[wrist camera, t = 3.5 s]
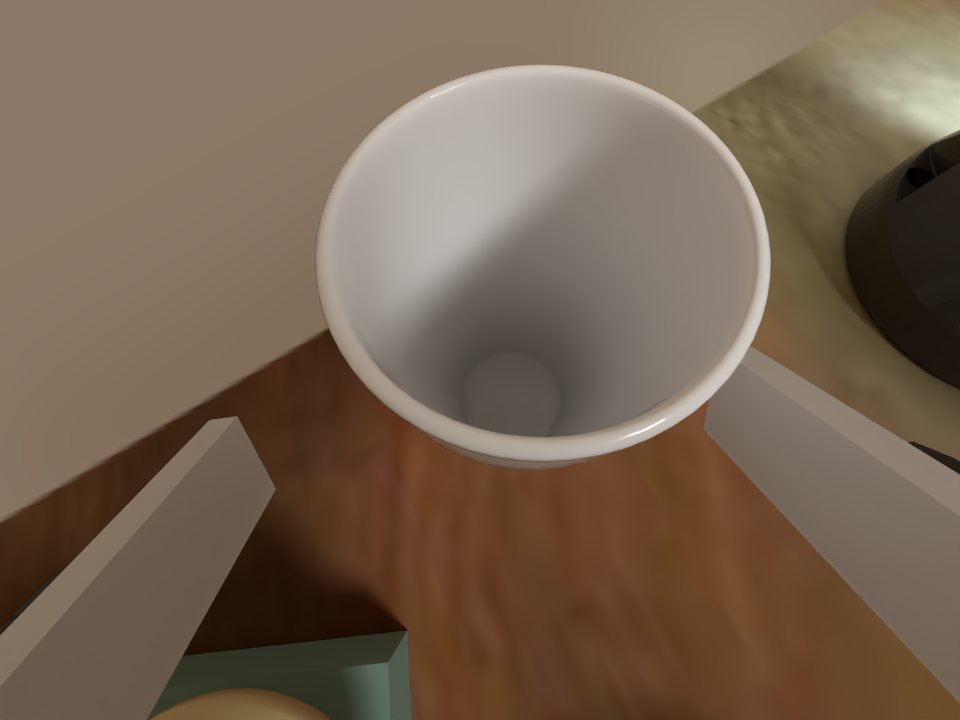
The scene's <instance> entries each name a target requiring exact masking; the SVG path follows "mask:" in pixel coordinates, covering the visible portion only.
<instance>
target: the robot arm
mask: <svg viewBox="0 0 960 720" xmlns="http://www.w3.org/2000/svg"><path fill="white" fill-rule="evenodd" d="M846 253H847V261H848V266H849V270H850V274H851V277H852V280H853V282H854V285H855V287H856V290H857V292H858V294H859V296H860V298H861V300H862V301H863V303H864V305H865V307H866V308H867V310H868V311H869V313H870V314H871V316H872V317H873V319H874V320H875V321H876V322H877V324H878V325H879V326H880V327H881V329H882V330H883V331H884V332H885V333H886V334H887V335H888V336H889V337H890V338H891V340H892V341H893V342H894V343H895V344H896V345H898V346H899V347H900V348H901V349H902V350H903V351H904V352H905V353H906V354H908V355H909V356H910V357H911V358H913V359H914V360H915V361H916V362H918V363H919V364H921V365H922V366H923V367H925V368H926V369H928V370H929V371H931V372H932V373H934V374H935V375H937V376H939V377H940V378H942V379H944V380H946V381H947V382H949V383H951V384H953V385H955V386H957V387H959V388H960V130H959V131H957V132H955V133H952V134H950V135H948V136H946V137H944V138H942V139H939V140H937V141H935V142H933V143H931V144H930V145H928V146H926V147H924V148H923V149H921V150H919V151H918V152H916V153H914V154H913V155H912V156H910V157H909V158H908V159H906V160H905V161H904V162H902V163H901V164H900V165H898V166H897V167H896V168H895V169H893V170H892V171H891V172H889V173H888V174H887V175H885V176H884V177H883V178H882V179H880V180H879V181H878V182H876V183H875V184H874V185H873V186H872V187H871V188H870V189H869V190H868V191H867V192H866V193H865V194H864V195H863V196H862V198H861V199H860V200H859V202H858V204H857V205H856V207H855V209H854V211H853V213H852V216H851V218H850V221H849V225H848V230H847V236H846ZM704 430H705V431H706V433H707V434H708V435H709V436H710V437H711V438H712V439H713V440H714V441H715V442H716V443H717V444H718V445H719V446H720V448H721V449H722V450H723V451H724V452H725V453H726V454H727V455H728V456H729V457H730V458H731V459H732V460H733V461H734V463H735V464H736V465H737V466H738V467H739V468H740V469H741V470H742V471H743V472H744V473H745V474H746V475H747V476H748V477H749V479H750V480H751V481H752V482H753V483H754V484H755V485H756V486H757V487H758V488H759V489H760V490H761V491H762V492H763V494H764V495H765V496H766V497H767V498H768V499H769V500H770V501H771V502H772V503H773V504H774V505H775V506H776V507H777V509H778V510H779V511H780V512H781V513H782V514H783V515H784V516H785V517H786V518H787V519H788V520H789V521H790V522H791V523H792V525H793V526H794V527H795V528H796V529H797V530H798V531H799V532H800V533H801V534H802V535H803V536H804V537H805V538H806V540H807V541H808V542H809V543H810V544H811V545H812V546H813V547H814V548H815V549H816V550H817V551H818V552H819V553H820V555H821V556H822V557H823V558H824V559H825V560H826V561H827V562H828V563H829V564H830V565H831V566H832V567H833V568H834V569H835V571H836V572H837V573H838V574H839V575H840V576H841V577H842V578H843V579H844V580H845V581H846V582H847V583H848V584H849V586H850V587H851V588H852V589H853V590H854V591H855V592H856V593H857V594H858V595H859V596H860V597H861V598H862V599H863V600H864V602H865V603H866V604H867V605H868V606H869V607H870V608H871V609H872V610H873V611H874V612H875V613H876V614H877V615H878V617H879V618H880V619H881V620H882V621H883V622H884V623H885V624H886V625H887V626H888V627H889V628H890V629H891V630H892V632H893V633H894V634H895V635H896V636H897V637H898V638H899V639H900V640H901V641H902V642H903V643H904V644H905V645H906V646H907V648H908V649H909V650H910V651H911V652H912V653H913V654H914V655H915V656H916V657H917V658H918V659H919V660H920V661H921V663H922V664H923V665H924V666H925V667H926V668H927V669H928V670H929V671H930V672H931V673H932V674H933V675H934V676H935V678H936V679H937V680H938V681H939V682H940V683H941V684H942V685H943V686H944V687H945V688H946V689H947V690H948V691H949V692H950V694H951V695H952V696H953V697H954V698H955V699H956V700H957V701H958V702H959V703H960V461H958V460H956V459H955V458H952V457H950V456H947V455H945V454H942V453H940V452H937V451H935V450H933V449H930V448H928V447H925V446H923V445H920V444H918V443H915V442H906V441H904V440H903V439H901V438H899V437H898V436H896V435H894V434H893V433H891V432H890V431H888V430H886V429H885V428H883V427H881V426H880V425H878V424H877V423H875V422H873V421H872V420H870V419H868V418H867V417H865V416H864V415H862V414H860V413H859V412H857V411H855V410H854V409H852V408H851V407H849V406H847V405H846V404H844V403H842V402H841V401H839V400H837V399H836V398H834V397H833V396H831V395H829V394H828V393H826V392H824V391H823V390H821V389H820V388H818V387H816V386H815V385H813V384H811V383H810V382H808V381H807V380H805V379H803V378H802V377H800V376H798V375H797V374H795V373H794V372H792V371H790V370H789V369H787V368H785V367H784V366H782V365H781V364H779V363H777V362H776V361H774V360H772V359H771V358H769V357H768V356H766V355H764V354H763V353H761V352H759V351H758V350H756V349H755V348H753V347H751V346H750V347H749V348H748V350H747V352H746V354H745V356H744V357H743V359H742V361H741V362H740V364H739V365H738V366H737V368H736V369H735V370H734V372H733V373H732V374H731V376H730V377H729V379H728V380H727V381H726V382H725V383H724V384H723V385H722V386H721V387H720V388H719V389H718V390H717V392H716V393H715V394H714V395H713V396H712V397H711V398H710V399H709V403H708V408H707V414H706V419H705V425H704ZM275 490H276V488H275V486H274V485H273V483H272V481H271V479H270V477H269V475H268V473H267V471H266V469H265V468H264V466H263V464H262V462H261V460H260V458H259V456H258V454H257V453H256V451H255V449H254V447H253V445H252V443H251V441H250V439H249V438H248V436H247V434H246V432H245V430H244V428H243V426H242V424H241V422H240V421H239V419H238V417H237V416H235V417H228V418H221V419H214V420H209V421H208V422H207V423H206V424H205V425H204V426H203V427H202V428H201V429H200V430H199V432H198V433H197V434H196V435H195V436H194V437H193V438H192V439H191V440H190V441H189V442H188V443H187V444H186V445H185V446H184V447H183V448H182V449H181V450H180V451H179V452H178V453H177V454H176V455H175V456H174V457H173V458H172V459H171V460H170V461H169V462H168V463H167V464H166V465H165V466H164V468H163V469H162V470H161V471H160V472H159V473H158V474H157V475H156V476H155V477H154V478H153V479H152V480H151V481H150V482H149V483H148V484H147V485H146V486H145V487H144V488H143V489H142V490H141V491H140V492H139V493H138V494H137V495H136V496H135V497H134V498H133V499H132V500H131V501H130V502H129V504H128V505H127V506H126V507H125V508H124V509H123V510H122V511H121V512H120V513H119V514H118V515H117V516H116V517H115V518H114V519H113V520H112V521H111V522H110V523H109V524H108V525H107V526H106V527H105V528H104V529H103V530H102V531H101V532H100V533H99V534H98V535H97V536H96V537H95V538H94V540H93V541H92V542H91V543H90V544H89V545H88V546H87V547H86V548H85V549H84V550H83V551H82V552H81V553H80V554H79V555H78V556H77V557H76V558H75V559H74V560H73V561H72V562H71V563H70V564H68V565H67V566H66V567H64V568H63V569H62V570H60V571H59V572H58V573H57V574H55V575H54V576H53V577H51V578H50V579H49V580H47V581H46V582H45V583H43V584H42V585H41V586H40V587H39V588H38V589H37V590H36V591H35V592H34V593H33V594H32V595H31V596H30V597H29V598H28V599H27V600H26V601H25V602H24V603H23V604H22V605H21V606H20V607H19V608H18V609H17V610H16V611H15V612H14V613H13V614H12V615H11V620H10V621H9V622H4V623H3V624H2V625H1V626H0V720H147V718H148V717H149V715H150V713H151V711H152V709H153V708H154V706H155V704H156V702H157V700H158V699H159V697H160V695H161V693H162V692H163V690H164V688H165V686H166V684H167V683H168V681H169V679H170V677H171V675H172V674H173V672H174V670H175V668H176V667H177V665H178V663H179V661H180V659H181V658H182V656H183V654H184V652H185V650H186V649H187V647H188V645H189V643H190V642H191V640H192V638H193V636H194V634H195V633H196V631H197V629H198V627H199V625H200V624H201V622H202V620H203V618H204V617H205V615H206V613H207V611H208V609H209V608H210V606H211V604H212V602H213V600H214V599H215V597H216V595H217V593H218V592H219V590H220V588H221V586H222V584H223V583H224V581H225V579H226V577H227V575H228V574H229V572H230V570H231V568H232V567H233V565H234V563H235V561H236V559H237V558H238V556H239V554H240V552H241V550H242V549H243V547H244V545H245V543H246V542H247V540H248V538H249V536H250V534H251V533H252V531H253V529H254V527H255V525H256V524H257V522H258V520H259V518H260V517H261V515H262V513H263V511H264V509H265V508H266V506H267V504H268V502H269V500H270V499H271V497H272V495H273V493H274V492H275Z"/></svg>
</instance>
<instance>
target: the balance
mask: <svg viewBox="0 0 960 720" xmlns="http://www.w3.org/2000/svg"><path fill="white" fill-rule="evenodd" d="M147 720H412V710H411V691H410V671H409V651H408V631H398V632H390V633H381V634H372V635H363V636H354V637H345V638H337V639H328V640H319V641H310V642H301V643H292V644H284V645H275V646H266V647H257V648H248V649H239V650H231V651H222V652H213V653H204V654H195V655H186V656H182V658H181V659H180V661H179V663H178V665H177V667H176V668H175V670H174V672H173V674H172V675H171V677H170V679H169V681H168V683H167V684H166V686H165V688H164V690H163V692H162V693H161V695H160V697H159V699H158V700H157V702H156V704H155V706H154V708H153V709H152V711H151V713H150V715H149V717H148V718H147Z"/></svg>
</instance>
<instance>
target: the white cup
mask: <svg viewBox="0 0 960 720" xmlns="http://www.w3.org/2000/svg"><path fill="white" fill-rule="evenodd" d="M315 268H316V281H317V288H318V294H319V299H320V303H321V306H322V310H323V314H324V317H325V320H326V322H327V325H328V327H329V330H330V332H331V335H332V337H333V339H334V341H335V343H336V345H337V346H338V348H339V350H340V352H341V354H342V355H343V357H344V358H345V360H346V361H347V363H348V364H349V366H350V367H351V369H352V370H353V372H354V373H355V374H356V375H357V376H358V378H359V379H360V380H361V381H362V382H363V383H364V385H365V386H366V387H367V388H368V389H369V390H370V391H371V392H372V393H373V394H374V395H375V396H376V397H377V398H378V399H379V400H380V401H381V402H382V403H384V404H385V405H386V406H387V407H388V408H390V409H391V410H392V411H394V412H395V413H396V414H397V415H399V416H400V417H401V418H402V419H403V420H405V421H406V422H407V423H408V424H410V425H411V426H412V427H414V428H415V429H416V430H418V431H419V432H420V433H422V434H423V435H424V436H426V437H427V438H429V439H430V440H432V441H434V442H435V443H437V444H439V445H440V446H442V447H443V448H445V449H447V450H449V451H451V452H453V453H455V454H457V455H460V456H462V457H464V458H467V459H469V460H472V461H475V462H478V463H481V464H485V465H489V466H493V467H497V468H504V469H511V470H530V471H533V470H548V469H555V468H561V467H567V466H572V465H576V464H580V463H583V462H587V461H591V460H594V459H597V458H600V457H603V456H606V455H608V454H611V453H613V452H616V451H618V450H621V449H625V448H627V447H630V446H632V445H635V444H637V443H640V442H643V441H645V440H648V439H650V438H652V437H654V436H656V435H658V434H659V433H661V432H663V431H665V430H667V429H669V428H671V427H673V426H674V425H676V424H677V423H678V422H680V421H681V420H683V419H684V418H686V417H687V416H689V415H690V414H692V413H693V412H694V411H696V410H697V409H698V408H699V407H700V406H701V405H703V404H704V403H705V402H706V401H707V400H708V399H710V398H711V397H712V396H713V395H714V394H715V393H716V392H717V390H718V389H719V388H720V387H721V386H722V385H723V384H724V383H725V382H726V381H727V380H728V379H729V377H730V376H731V374H732V373H733V372H734V370H735V369H736V368H737V366H738V365H739V364H740V362H741V361H742V359H743V357H744V356H745V354H746V352H747V350H748V348H749V347H750V345H751V343H752V341H753V339H754V337H755V335H756V332H757V330H758V327H759V325H760V322H761V320H762V316H763V313H764V309H765V305H766V302H767V298H768V291H769V284H770V271H771V254H770V243H769V235H768V231H767V226H766V221H765V217H764V214H763V211H762V208H761V205H760V202H759V199H758V197H757V195H756V192H755V190H754V188H753V186H752V184H751V182H750V180H749V178H748V176H747V175H746V173H745V171H744V170H743V168H742V166H741V165H740V163H739V162H738V161H737V159H736V158H735V156H734V155H733V154H732V152H731V151H730V150H729V148H728V147H727V146H726V145H725V144H724V143H723V142H722V141H721V139H720V138H719V137H718V136H717V135H716V134H715V133H714V132H713V131H712V130H711V129H710V128H709V127H707V126H706V125H705V124H704V123H703V122H702V121H701V120H700V119H698V118H697V117H696V116H694V115H693V114H692V113H691V112H689V111H688V110H687V109H685V108H683V107H682V106H680V105H679V104H677V103H676V102H674V101H673V100H671V99H670V98H668V97H666V96H664V95H662V94H660V93H658V92H656V91H655V90H653V89H650V88H648V87H646V86H644V85H641V84H639V83H637V82H634V81H631V80H628V79H625V78H622V77H620V76H617V75H613V74H609V73H605V72H601V71H597V70H592V69H587V68H581V67H573V66H564V65H545V64H542V65H541V64H540V65H519V66H509V67H502V68H497V69H490V70H486V71H482V72H478V73H474V74H470V75H467V76H463V77H461V78H458V79H454V80H452V81H449V82H447V83H444V84H442V85H439V86H437V87H435V88H433V89H431V90H429V91H427V92H425V93H423V94H421V95H419V96H417V97H416V98H414V99H412V100H411V101H409V102H407V103H406V104H404V105H403V106H401V107H400V108H398V109H397V110H396V111H394V112H393V113H392V114H390V115H389V116H388V117H387V118H385V119H384V120H383V121H382V122H381V123H380V124H378V125H377V126H376V127H375V128H374V129H373V130H372V131H371V132H370V133H369V134H368V135H367V136H366V137H365V138H364V139H363V140H362V142H361V143H360V144H359V145H358V146H357V148H356V149H355V150H354V151H353V153H352V154H351V155H350V157H349V158H348V160H347V161H346V163H345V164H344V166H343V167H342V169H341V171H340V172H339V174H338V176H337V178H336V180H335V181H334V183H333V185H332V187H331V190H330V192H329V195H328V197H327V199H326V202H325V205H324V209H323V212H322V215H321V218H320V223H319V228H318V233H317V239H316V253H315Z"/></svg>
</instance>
